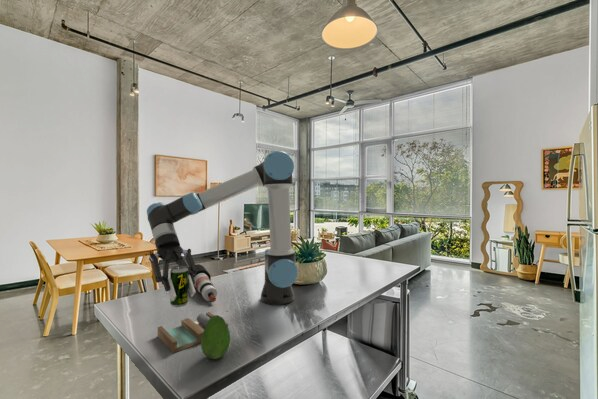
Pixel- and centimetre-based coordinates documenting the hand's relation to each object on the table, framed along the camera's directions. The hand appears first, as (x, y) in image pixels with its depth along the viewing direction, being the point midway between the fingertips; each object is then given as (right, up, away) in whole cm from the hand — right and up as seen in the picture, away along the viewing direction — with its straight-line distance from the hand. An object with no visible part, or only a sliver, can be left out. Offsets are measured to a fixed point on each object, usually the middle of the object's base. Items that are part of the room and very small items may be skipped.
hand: (183, 296), depth 87 cm
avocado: (+12, -15, -8) cm, 21 cm away
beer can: (-3, -4, +3) cm, 5 cm away
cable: (-10, -15, +46) cm, 50 cm away
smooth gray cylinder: (+4, -14, +9) cm, 17 cm away
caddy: (+1, -15, +6) cm, 16 cm away
